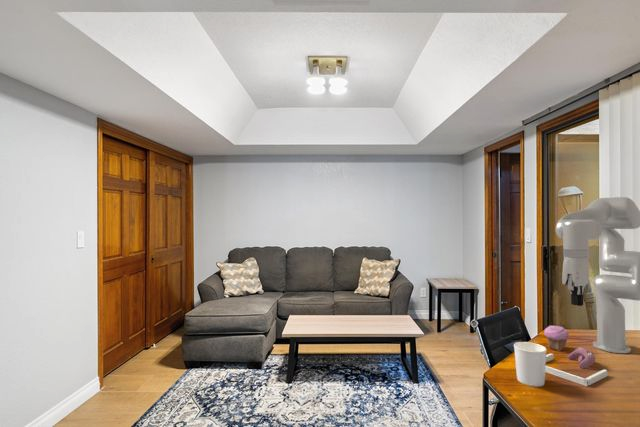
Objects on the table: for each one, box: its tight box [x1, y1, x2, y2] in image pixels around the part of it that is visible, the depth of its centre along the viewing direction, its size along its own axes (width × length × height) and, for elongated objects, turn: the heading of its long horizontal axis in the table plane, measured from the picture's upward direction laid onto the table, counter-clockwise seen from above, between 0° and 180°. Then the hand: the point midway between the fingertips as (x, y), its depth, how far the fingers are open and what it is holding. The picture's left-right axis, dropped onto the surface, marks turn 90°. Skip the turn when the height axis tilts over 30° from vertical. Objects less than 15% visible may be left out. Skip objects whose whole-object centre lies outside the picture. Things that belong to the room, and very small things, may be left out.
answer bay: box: [545, 353, 608, 387], centre depth 131 cm, size 15×19×2 cm
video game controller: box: [567, 346, 596, 369], centre depth 137 cm, size 10×5×7 cm, turn 169°
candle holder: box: [513, 341, 547, 388], centre depth 124 cm, size 10×10×12 cm
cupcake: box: [543, 325, 570, 352], centre depth 153 cm, size 9×9×10 cm
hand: (577, 304), depth 129 cm, fingers closed
